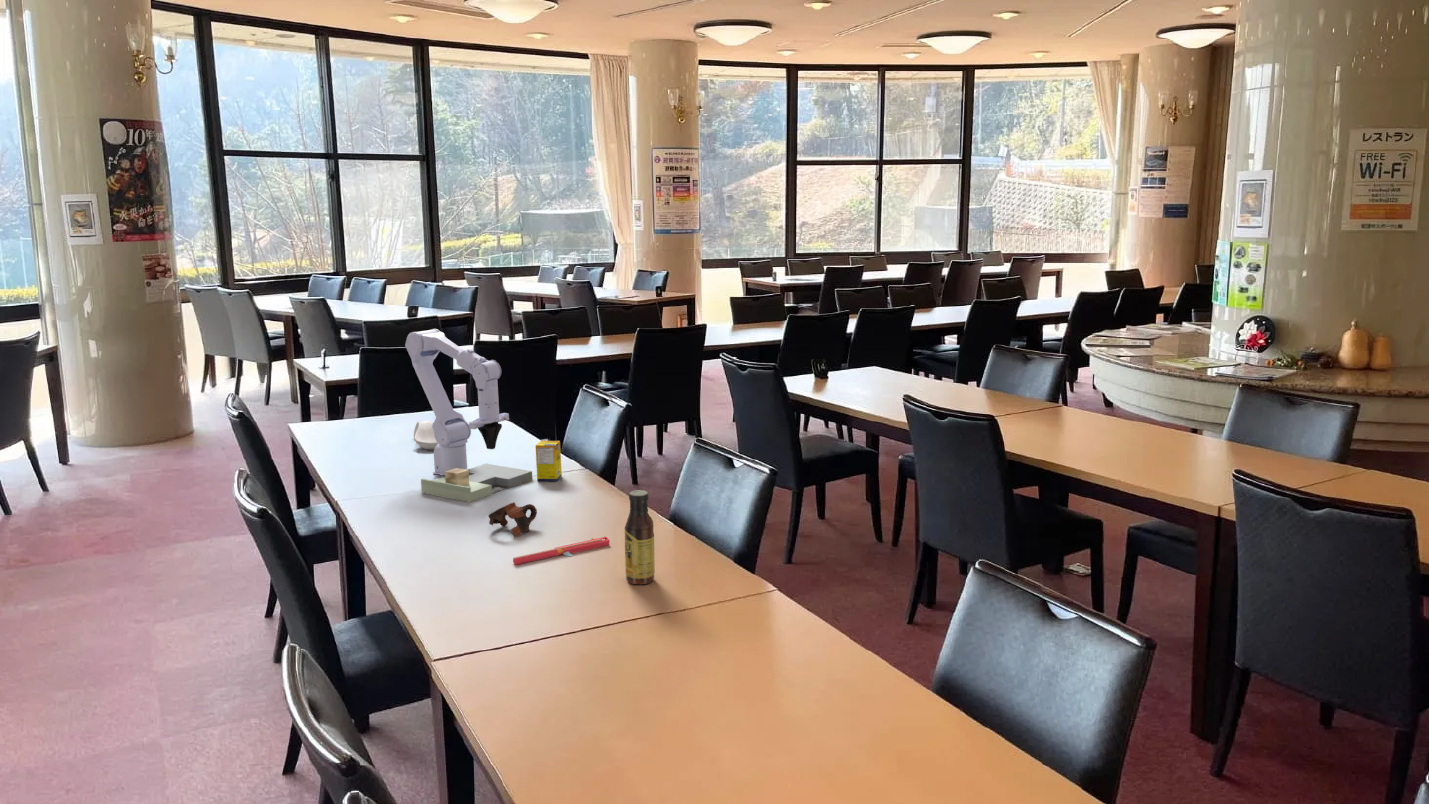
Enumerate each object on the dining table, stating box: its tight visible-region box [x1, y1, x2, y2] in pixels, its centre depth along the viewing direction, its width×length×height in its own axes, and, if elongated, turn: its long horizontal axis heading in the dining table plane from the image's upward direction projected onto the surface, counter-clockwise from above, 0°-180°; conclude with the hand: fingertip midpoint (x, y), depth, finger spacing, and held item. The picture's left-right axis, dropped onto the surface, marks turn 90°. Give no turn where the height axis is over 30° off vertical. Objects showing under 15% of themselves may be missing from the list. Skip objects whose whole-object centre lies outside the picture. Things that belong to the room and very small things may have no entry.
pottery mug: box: [487, 501, 538, 538], centre depth 252 cm, size 12×10×8 cm
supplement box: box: [535, 440, 563, 482], centre depth 297 cm, size 6×6×11 cm
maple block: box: [444, 468, 469, 486], centre depth 283 cm, size 4×4×4 cm
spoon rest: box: [413, 420, 438, 451], centre depth 342 cm, size 24×12×7 cm, turn 31°
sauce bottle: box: [624, 489, 656, 585], centre depth 215 cm, size 6×6×20 cm
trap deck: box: [420, 463, 533, 503], centre depth 291 cm, size 18×26×4 cm
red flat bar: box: [512, 536, 611, 566], centre depth 234 cm, size 24×2×5 cm
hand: (490, 448), depth 296 cm, fingers closed
